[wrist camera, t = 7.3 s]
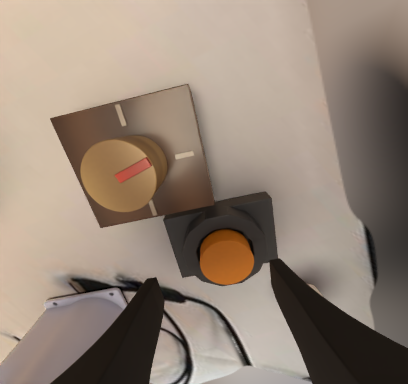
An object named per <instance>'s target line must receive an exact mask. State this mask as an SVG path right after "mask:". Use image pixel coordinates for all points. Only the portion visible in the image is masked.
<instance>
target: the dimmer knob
mask: <svg viewBox="0 0 408 384" xmlns="http://www.w3.org/2000/svg"><path fill="white" fill-rule="evenodd" d="M166 174H167V160H166V157H165V155H164V153H163V151H162V149H161V148H160V147H159V146H158V145H157V144H156V143H155V142H154V141H152V140H151V139H149V138H146V137H144V136H139V135H130V136H125V137H119V138H113V139H108V140H103V141H100V142H98V143H96V144H94V145H93V146H91V147H90V148H89V149H88V151H87V152H86V153H85V155H84V157H83V159H82V162H81V179H82V182H83V185H84V187H85V189H86V191H87V192H88V194H89V195H90V196H91V197H92V198H93V199H94V200H95V201H96V202H97V203H99V204H100V205H102V206H103V207H105V208H107V209H110V210H113V211H117V212H131V211H135V210H138V209H140V208H142V207H144V206H145V205H146V204H148V203H149V201H150V200H151V199H152V197H153V196H154V194H155V193H156V192H157V190H158V189H159V187H160V186H161V184H162V183H163V181H164V179H165V177H166Z"/></svg>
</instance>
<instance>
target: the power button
mask: <svg viewBox="0 0 408 384" xmlns="http://www.w3.org/2000/svg"><path fill="white" fill-rule="evenodd" d="M253 266H254V257H253V254H252V251H251V248H250V246H249V243H248V241H247V239H246V238H245V237H244V236H243V235H242V234H241V233H239V232H237V231H234V230H230V229H222V230H217V231H215V232H212V233H211V234H209V235H208V236H207V237H206V238H205V239H204V240H203V242H202V244H201V248H200V268H201V271H202V272H203V274H204V275H205V277H206V278H208V279H209V280H211V281H212V282H215V283H218V284H224V285H228V284H234V283H237V282H240V281H242V280H243V279H245V278H246V277H247V276H248V275H249V274H250V273H251V271H252V269H253Z"/></svg>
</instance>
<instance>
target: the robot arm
mask: <svg viewBox="0 0 408 384" xmlns="http://www.w3.org/2000/svg"><path fill="white" fill-rule="evenodd" d="M269 262H270V273H271V285H272V288H273V291H274V294H275V297H276V300H277V302H278V305H279V307H280V309H281V311H282V313H283V315H284V317H285V319H286V322H287V324H288V326H289V328H290V330H291V332H292V334H293V336H294V338H295V341H296V343H297V345H298V347H299V350H300V352H301V354H302V357H303V360H304V362H305V365H306V368H307V370H308V373H309V376H310V378H311V381H312V383H313V384H408V348H406V347H404V346H402V345H400V344H398V343H396V342H394V341H392V340H391V339H389V338H387V337H385V336H383V335H382V334H380V333H378V332H376V331H374V330H373V329H371V328H369V327H368V326H366V325H364V324H363V323H361V322H359V321H358V320H356V319H354V318H353V317H351V316H350V315H348V314H347V313H345V312H343V311H342V310H341V309H339V308H338V307H336V306H335V305H333V304H332V303H331V302H329V301H328V300H327V299H325V298H324V297H323V296H321V295H320V294H319V293H317V292H316V291H315V290H314V289H313V288H311V287H310V286H309V285H308V284H307V283H305V282H304V281H303V280H302V279H301V278H300V277H299V276H297V275H296V274H295V273H294V272H293V271H292V270H291V269H290V268H289V267H288V266H287V265H286V264H285V263H284V262H283V261H282V260H281V259H273V260H269ZM43 305H44V307H45V308H46V311H45V312H44V313H43V314H42V315H41V317H40V318H39V319H38V320H37V321H36V323H35V324H34V325H33V326H32V327H31V329H30V330H29V331H28V332H27V333H26V334H25V336H24V337H23V338H22V339H21V340H20V342H19V343H18V344H17V345H16V346H15V348H14V349H13V350H12V351H11V352H10V354H9V355H8V356H7V357H6V358H5V360H4V361H3V362H2V363H1V365H0V384H149V380H150V374H151V368H152V363H153V358H154V354H155V349H156V345H157V341H158V337H159V332H160V328H161V323H162V319H163V311H164V298H163V295H162V292H161V289H160V286H159V283H158V281H157V278H156V277H155V278H148V279H147V280H146V281H145V282H144V284H143V285H142V286H141V288H140V289H139V290H138V292H137V293H136V294H135V296H134V297H133V298H132V300H131V301H130V302H129V304H128V305H127V303H126V301H125V298H124V296H123V294H122V292H121V290H120V289H119V288H111V289H105V290H100V291H94V292H89V293H83V294H77V295H72V296H66V297H61V298H55V299H49V300H46V301H45V302H44V304H43Z"/></svg>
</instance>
